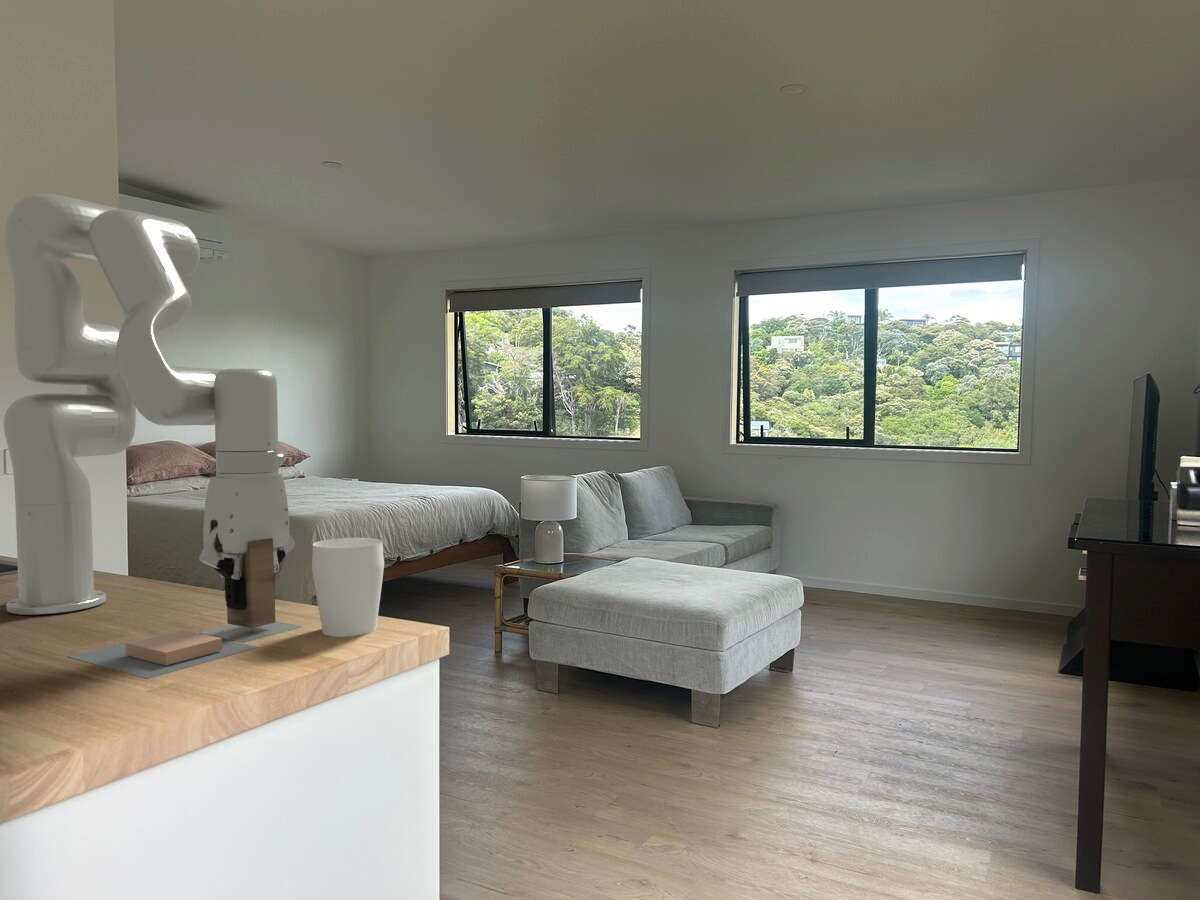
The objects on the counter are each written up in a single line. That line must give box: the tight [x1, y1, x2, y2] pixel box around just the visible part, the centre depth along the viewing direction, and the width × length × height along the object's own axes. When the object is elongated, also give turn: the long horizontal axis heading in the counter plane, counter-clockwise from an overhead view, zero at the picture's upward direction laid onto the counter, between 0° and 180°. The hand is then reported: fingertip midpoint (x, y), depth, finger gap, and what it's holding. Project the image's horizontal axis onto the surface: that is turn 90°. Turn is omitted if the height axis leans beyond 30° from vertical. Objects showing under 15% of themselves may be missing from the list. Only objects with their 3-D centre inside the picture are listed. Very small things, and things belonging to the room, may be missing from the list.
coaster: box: [199, 620, 304, 644], centre depth 113 cm, size 9×9×1 cm
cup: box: [311, 537, 385, 638], centre depth 113 cm, size 9×9×12 cm
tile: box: [124, 629, 223, 666], centre depth 102 cm, size 2×7×8 cm
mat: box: [67, 638, 260, 680], centre depth 103 cm, size 16×14×1 cm
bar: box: [226, 539, 276, 628], centre depth 113 cm, size 5×4×11 cm
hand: (250, 603), depth 113 cm, fingers closed on bar, 3 cm apart
